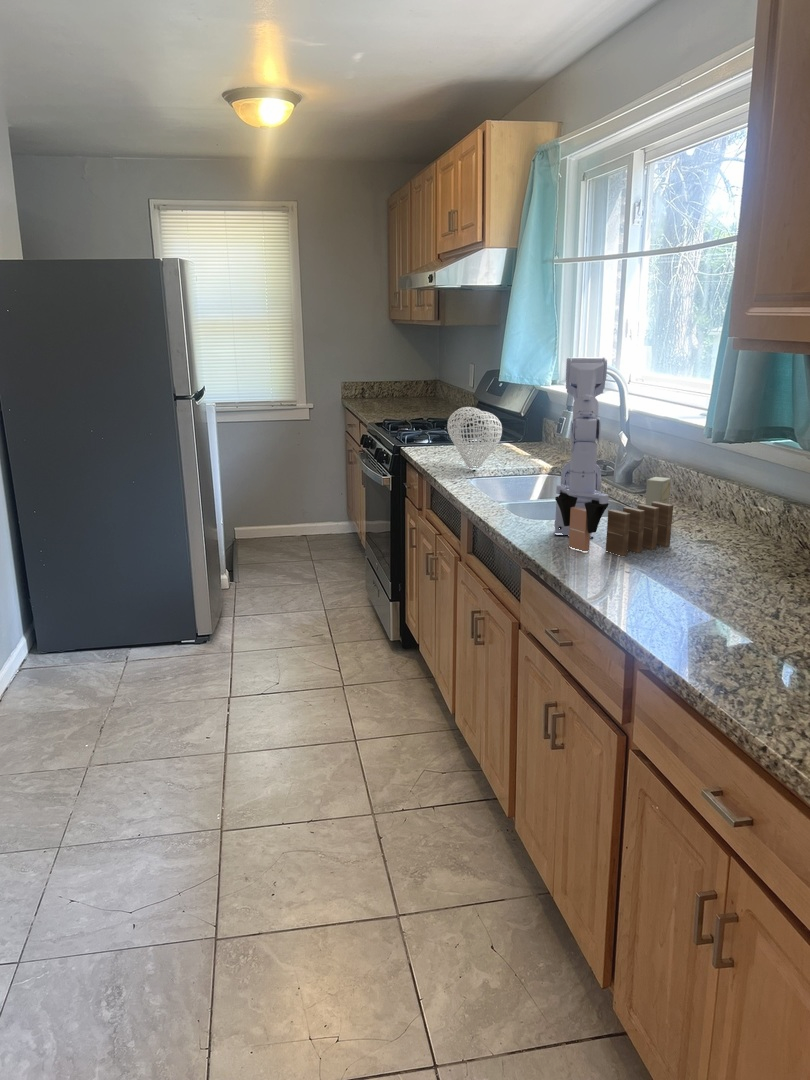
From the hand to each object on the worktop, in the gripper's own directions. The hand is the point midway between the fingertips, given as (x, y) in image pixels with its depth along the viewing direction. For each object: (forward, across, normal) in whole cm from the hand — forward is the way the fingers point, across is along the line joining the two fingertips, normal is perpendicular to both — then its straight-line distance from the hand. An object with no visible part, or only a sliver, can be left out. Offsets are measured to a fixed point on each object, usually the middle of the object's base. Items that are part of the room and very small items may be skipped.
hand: (579, 528), depth 185 cm
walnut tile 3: (+5, +7, +10) cm, 13 cm away
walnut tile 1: (+5, +7, +20) cm, 22 cm away
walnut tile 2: (+5, +7, +15) cm, 17 cm away
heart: (+5, -96, +45) cm, 106 cm away
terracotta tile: (+5, 0, 0) cm, 5 cm away
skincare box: (+5, -7, +36) cm, 37 cm away
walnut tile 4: (+5, +7, +5) cm, 10 cm away
